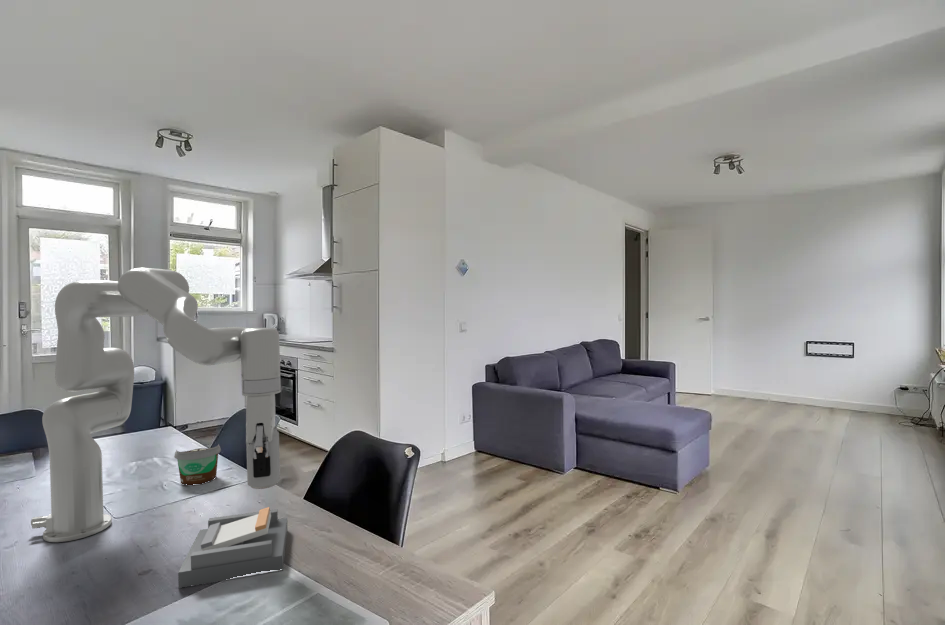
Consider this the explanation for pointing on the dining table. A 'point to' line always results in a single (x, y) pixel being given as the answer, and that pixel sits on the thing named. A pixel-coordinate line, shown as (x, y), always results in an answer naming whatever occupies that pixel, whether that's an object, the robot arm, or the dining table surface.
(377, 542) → the dining table surface
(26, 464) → the dining table surface
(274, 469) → the beverage can
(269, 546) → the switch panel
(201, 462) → the food container
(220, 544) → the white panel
